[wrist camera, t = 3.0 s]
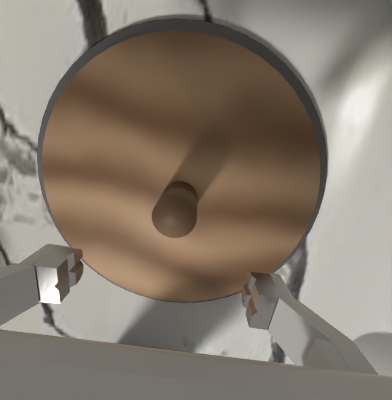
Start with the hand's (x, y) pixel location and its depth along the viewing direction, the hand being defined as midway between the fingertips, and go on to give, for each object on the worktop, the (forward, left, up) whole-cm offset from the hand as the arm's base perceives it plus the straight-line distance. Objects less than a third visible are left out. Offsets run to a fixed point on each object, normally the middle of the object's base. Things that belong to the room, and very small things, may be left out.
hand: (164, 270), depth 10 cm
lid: (-1, 0, -10) cm, 10 cm away
